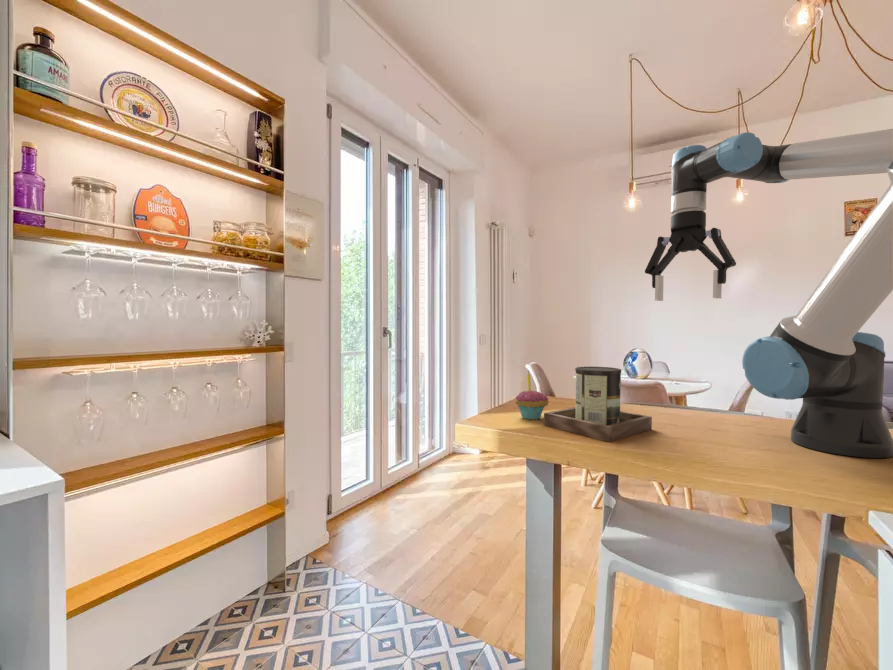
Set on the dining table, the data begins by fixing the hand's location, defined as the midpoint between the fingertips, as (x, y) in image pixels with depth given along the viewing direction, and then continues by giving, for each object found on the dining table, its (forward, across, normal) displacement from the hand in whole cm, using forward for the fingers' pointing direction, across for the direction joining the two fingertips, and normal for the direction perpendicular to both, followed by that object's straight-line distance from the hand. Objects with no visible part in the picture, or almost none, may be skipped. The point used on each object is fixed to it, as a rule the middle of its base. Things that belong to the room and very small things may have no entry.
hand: (686, 299), depth 103 cm
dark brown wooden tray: (+31, +10, +22) cm, 39 cm away
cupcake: (+31, +26, +27) cm, 49 cm away
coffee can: (+31, +10, +22) cm, 39 cm away
